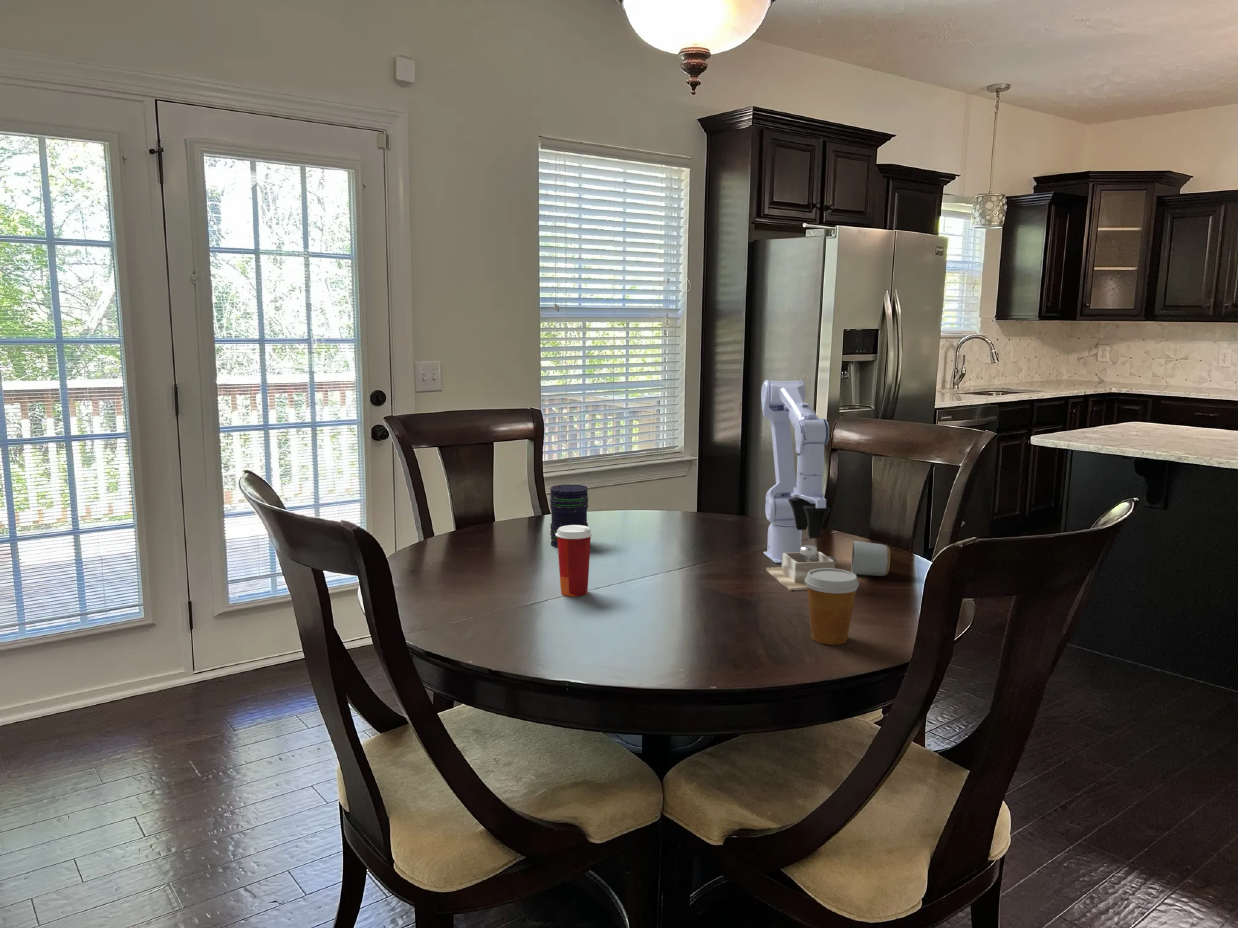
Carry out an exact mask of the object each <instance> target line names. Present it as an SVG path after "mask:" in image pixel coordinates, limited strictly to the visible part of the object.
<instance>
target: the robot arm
mask: <svg viewBox="0 0 1238 928" xmlns="http://www.w3.org/2000/svg"><path fill="white" fill-rule="evenodd" d="M760 391H761V395H760V399H761V400H760V401H761V410H762V415H763V417H765V418H766V419H768V420H769V424H770V428H771V439H772V442H771V443H772V450H773V451H772V452H773V462H774V476H775V484H774V485H773V486H772V487H770V488H769V489H768V490H767V491H766V494H765V505H764V506H765V507H764V508H765V510H764V512H765V517H766V519H767V521H768V522H769V525H768V529H767V551H763V554H764V555H765V556H766V557H767V558H769V559H770V560H771V561H772V562H774V563H775V564H782V553H793V552H800V546H802V539H803V536H802V535H803V531H806V530H807V533H808V537H809V539H819V538H820V536H821V533H822V530H823V526H824V524H825V520H826V519H827V517H828V516H829V513H830V512H831V507H829V506H827V499H826V498H825V494H824V493H823V492H824V491H823V490H824V489H823V488H824V466H825V446H827V445H828V443H829V439H830V426H829V422H828V420H827V419H826V418H819V416H818V415H817V414H816V413H817V412H815V410H814V408H813V407H812V406H811V404H809V403H808V402H805V400H806V392H807V391H806V385H805V383H804V382H803V380H801V379H798V380H769V379H765V380H764V381H763V383H762V385H761V390H760ZM791 425H792V427H793V429H794V441H795V453H797V463H796V465H797V466H796V469H797V470H795V460H794V450H793V449H794V448H793V438H792V437H793V436H792V428H791ZM795 471H796V472H795Z"/></svg>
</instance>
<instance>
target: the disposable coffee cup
mask: <svg viewBox="0 0 1238 928" xmlns="http://www.w3.org/2000/svg"><path fill="white" fill-rule="evenodd" d="M805 583H806V586H807V590H806V591H807V602H808V612H809V613H808V614H809V624H810V637H811V639H812V641H814V642H816V643H819V644H824V645H832V646H833V645H843V644H845V643H847V641H848V637H849V630H850V627H851V626H850V625H851V621H852V613H853V608H854V604H855V598H856V592H857V590H858V588H859V586H860V582H859V581H858V575H855V574H854V573H852V572H851V571H848V570H845V569H841V568H835V569H833V568H819V569H813V570H810V571H809V572H808V573H807V577H806V578H805Z"/></svg>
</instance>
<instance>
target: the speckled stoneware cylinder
mask: <svg viewBox="0 0 1238 928" xmlns="http://www.w3.org/2000/svg"><path fill="white" fill-rule="evenodd" d="M890 565H891V548H890V547H889V546H888V545H886V544H882V543H873V542H869V541H867V542H866V541H860V540H854V541H853V544H852V551H851V564H850V572H852V573H854V574H855V575H856V576H873V577H884V576H887V575H888V574H889V571H890Z"/></svg>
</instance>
